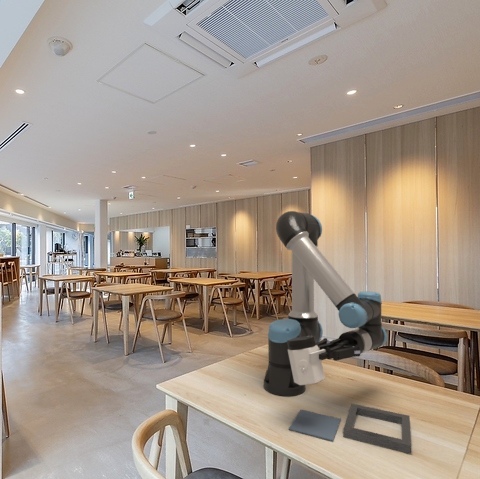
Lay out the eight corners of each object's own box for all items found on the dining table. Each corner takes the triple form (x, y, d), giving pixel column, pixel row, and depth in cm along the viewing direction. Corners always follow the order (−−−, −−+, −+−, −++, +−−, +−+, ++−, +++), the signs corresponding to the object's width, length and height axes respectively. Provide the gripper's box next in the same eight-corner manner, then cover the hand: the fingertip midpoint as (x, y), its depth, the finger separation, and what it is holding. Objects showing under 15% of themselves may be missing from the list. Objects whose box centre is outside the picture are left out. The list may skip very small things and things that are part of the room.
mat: (288, 430, 88) (288, 428, 88) (300, 410, 98) (300, 409, 98) (333, 441, 82) (333, 440, 82) (340, 419, 93) (340, 418, 93)
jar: (291, 386, 89) (282, 342, 91) (296, 379, 96) (288, 338, 99) (323, 383, 86) (313, 337, 89) (326, 375, 94) (316, 334, 96)
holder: (343, 436, 84) (343, 429, 85) (351, 410, 99) (351, 403, 99) (411, 454, 77) (411, 445, 77) (409, 422, 92) (409, 415, 92)
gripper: (375, 360, 98) (328, 379, 83) (335, 348, 109) (288, 364, 94) (375, 335, 98) (328, 350, 83) (335, 326, 109) (287, 338, 95)
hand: (307, 357), depth 89 cm, fingers closed on jar, 1 cm apart
